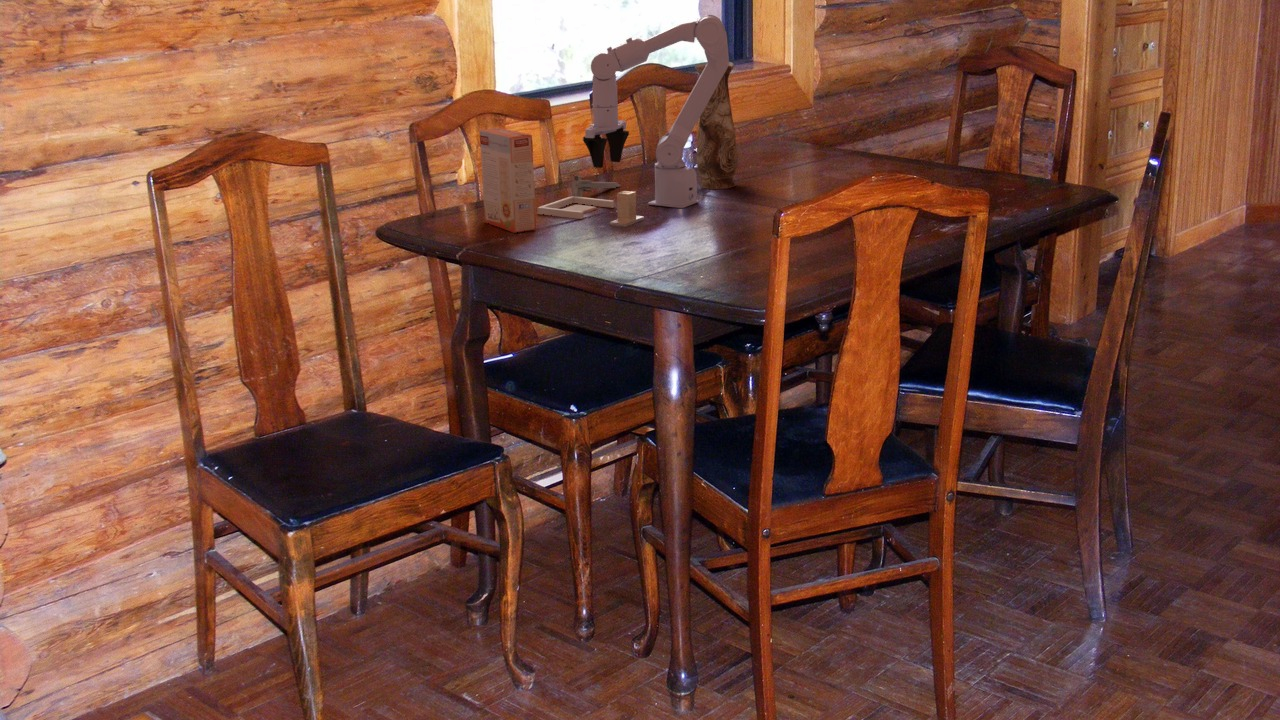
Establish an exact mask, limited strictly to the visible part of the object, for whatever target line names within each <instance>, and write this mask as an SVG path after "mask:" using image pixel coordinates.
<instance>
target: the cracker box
mask: <svg viewBox="0 0 1280 720" xmlns="http://www.w3.org/2000/svg"><path fill="white" fill-rule="evenodd" d="M479 144H480V158H481V159H480V160H481V161H480V162H481V163H480V164H481V177H482V178H481V179H482V192H483V193H482V194H483V196H482V197H483V207H484V208H483V209H484V210H483V213H484V222H486V224H488V223H489V225H492V226H494V227H496V226H497V227H496V228H499V227H500V228H499V229H502V230H506V231H508V232H510V233H513V234H516V233H517V232H518V233H523V232H524V231H525V232H529V231H536V230H537V220H536V219H537V218H536V214H537V213H536V197H535V195H536V194H535V193H536V192H535V191H536V190H535V172H534V169H535V168H534V152H533V148H534V146H533V145H534V143H533V135H532V134H529V133H526V132H525V133H524V132H520V131H516V130H511V129H507V128H502V127H496V128H488V129H481V130H479Z"/></svg>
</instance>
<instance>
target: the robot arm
mask: <svg viewBox="0 0 1280 720" xmlns="http://www.w3.org/2000/svg"><path fill="white" fill-rule="evenodd" d="M727 35H728V34H727V31H726V28H725V27H724V23H723V22H722V20H721V19H720V18H719V17H718V16H716V15H713V14H706V15H704V16H702V17H700V19H699V18H693V19H691V20H687V21H684V22H680V23H679V24H677V25H675V26H673V27H671V28H668V29H666V30H664V31H662V32H659V33H657V34H656V35H653V36H652V37H649V38H647V39H645V40H644V39H642V38H639V37H634V38H632V37H631V36H630V37H628V38H626V40H625V41H626V42H623V43H620V44H619V45H617V46H614V47H612V46H608V47H607V48H606V51H607V52H606V51H602V52H599V53H597V54H596V55H595V56H594V58H593V59H592V60H591V63H590V70H591V71H590V72H591V73H592V83H593V84H592V86H591V87H592V88H591V89H592V113H593V118H592V119H593V123H591V124H589V127H588V128H585V130H584V134H585V136H583V137H582V142H583V143H584V144H585V146H586V147H587V150H588V152H589V155H590V158H591V163H592V166H593V168H597V169H598V168H599V169H601V168H603V167H604V159H605V158H604V157H605V155H604V154H605V150H606V144H607V143H608V147H609V155H610V156H609V157H610V161H611V163H621V159H622V154H623V152H624V151H623V150H624V146H625V143H626V141H627V139H628V137H629V136H630V131H629V130H627V121H626V120H619V109H618V105H619V104H618V101H619V99H618V84H617V74H616V72H619V73H622V72H625V71H627V70H629V69H632V68H634V67H636V66H638V65H642V64H643V63H646V62H647V61H648V59H649V55H650V54H651V53H654V52H657V51H659V50H662V49H664V48H666V47H669V46H672V45H675V44H677V43H679V42H687V43H692V44H693V43H695V40H697V42H698V43H699V44H700V47H701V48H702V49H703V50H704V51H703V52H704V54H705V58H706V60H707V61H706V63H707V64H706V66H705V68H704V70H703V72H702V73H701V75H699V78H698V79H697V80H696V82H695V85H694V86H693V88H692V90H691V92H690V94H689V95H688V97H687V99H686V101H685V103H684V104H683V106H682V108H681V109H680V112H679V114H678V115H677V117H676V118H675V120H674V122H673V124H672V125H671V127H670V128H669V130H668V131H667V133H666V134H665V135H663V136H661V137H660V138H659V140H658V142H657V146H656V150H655V157H656V161H657V162H655V163H654V189H655V190H654V192H655V193H654V196H655V197H654V200H651V201H649V202H647V204H648V205H651V206H660V207H669V208H676V209H677V208H678V209H684V208H687V207H689V206H691V205H694V204H697V203H699V199H698V178H697V177H698V175H697V172H696V170H695V169H694V168H692V167H688V166H687V164H686V162H685V161H684V160H683V157H684V151H685V150H684V149H685V146H686V144H687V143H688V140H689V138H690V137H691V134H692V132H693V131H694V128H695V127H696V125H697V123H698V121H700V116H701V114H702V112H703V111H704V109H705V107H706V105H707V103H708V102H709V100H710V98H711V96H712V95H713V93H714V91H715V89H716V87H717V86H718V84H719V82H720V80H721V78H722V77H723V75H724V73H725V71H726V70H727V68H728V65H729V62H730V60H729V59H730V58H729V57H730V56H729V46H728V36H727ZM602 135H605V137H606V138H603V137H602Z"/></svg>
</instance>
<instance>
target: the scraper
mask: <svg viewBox="0 0 1280 720" xmlns="http://www.w3.org/2000/svg"><path fill="white" fill-rule="evenodd" d="M616 203H617V206H616V209H617V219H615V220H612V221H609V226H613V227H622V228H626V227H629V226H631V225H632V226H633V224H636V223H639V222H642V221H644V220H645V216H642V215H637V193H636V191H629V190H622V191H620V192H617V193H616Z"/></svg>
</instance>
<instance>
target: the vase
mask: <svg viewBox="0 0 1280 720" xmlns="http://www.w3.org/2000/svg"><path fill="white" fill-rule="evenodd" d="M707 63H708V62H701V63H698V64H696V65H694V68H695V70H696V72H697V73H698V75H699V76H700V75H701V73H702V72H703V70H704V68H705V66H706V64H707ZM734 67H735V64H734V63H733V62H731V61H729V65H728V68H727V70H726V71H725V73H724V75H723V77H722V78H721V80H720V82H719V84H718V86H717V87H716V89H715V91H714V93H713V95H712V96H711V98H710V100H709V102H708V103H707V105H706V107H705V109H704V111H703V112H702V114H701V116H700V118H699V120H698V121H699V123H698V130H697V131H698V133H697V141H696V142H697V143H696V166H697V171H698V174H699V175H700V177H701V178H702V182H701V183H700V187H701V188H703V189H708V190H724V189H731V188H734V187H735V186H737V184H736V182H735V181H734V176H735V175H736V173H737V171H738V167H739V154H738V153H739V152H738V143H737V137H736V132H735V125H734V119H733V112H732V106H731V105H732V104H731V99H730V91H729V76H730V75H731V72H732V70H733V68H734Z"/></svg>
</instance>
